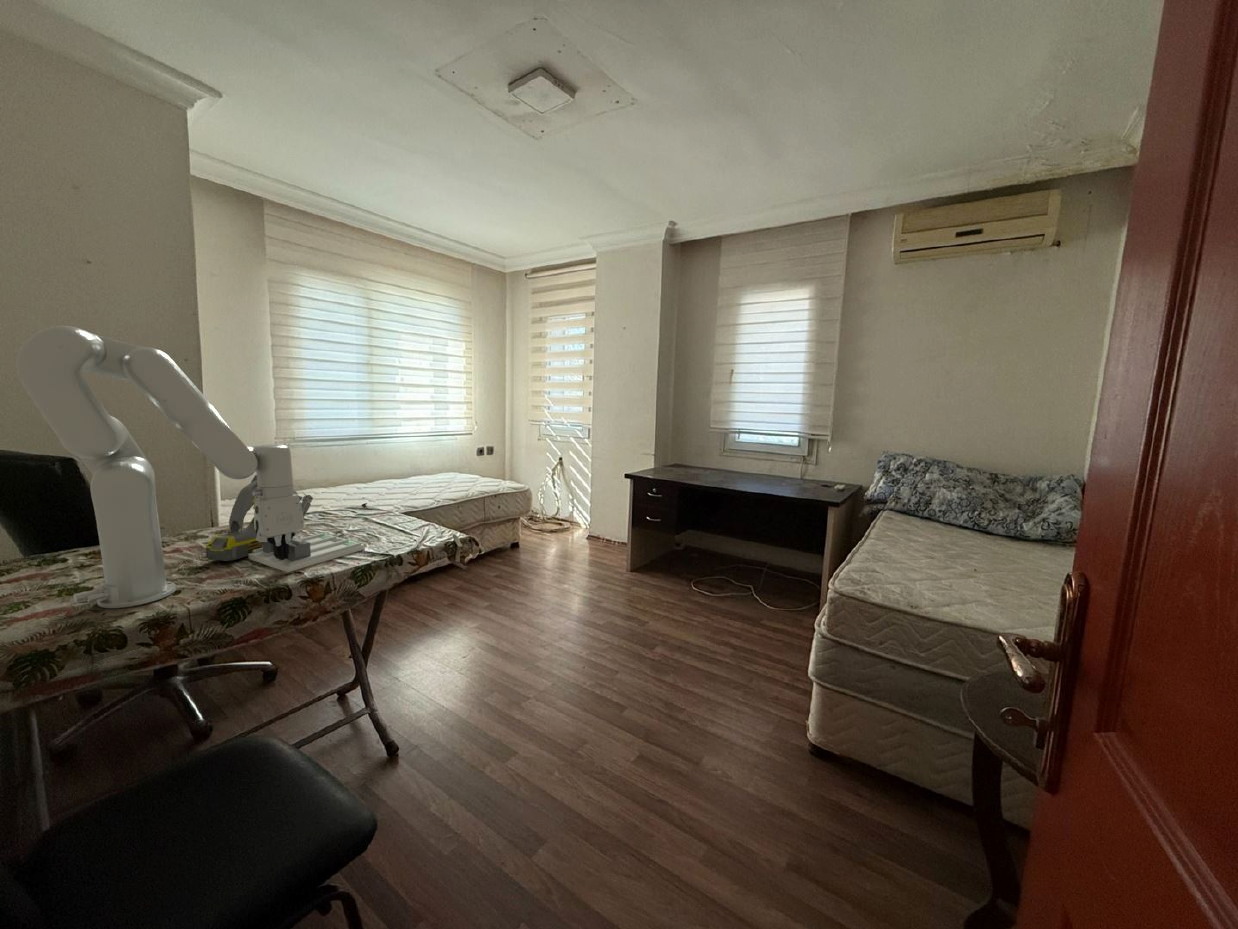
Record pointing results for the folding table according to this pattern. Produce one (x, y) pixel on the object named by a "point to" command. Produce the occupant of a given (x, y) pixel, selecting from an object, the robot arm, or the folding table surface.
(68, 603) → the folding table surface
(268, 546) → the tab far
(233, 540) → the circular saw
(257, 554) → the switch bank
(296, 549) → the tab near
